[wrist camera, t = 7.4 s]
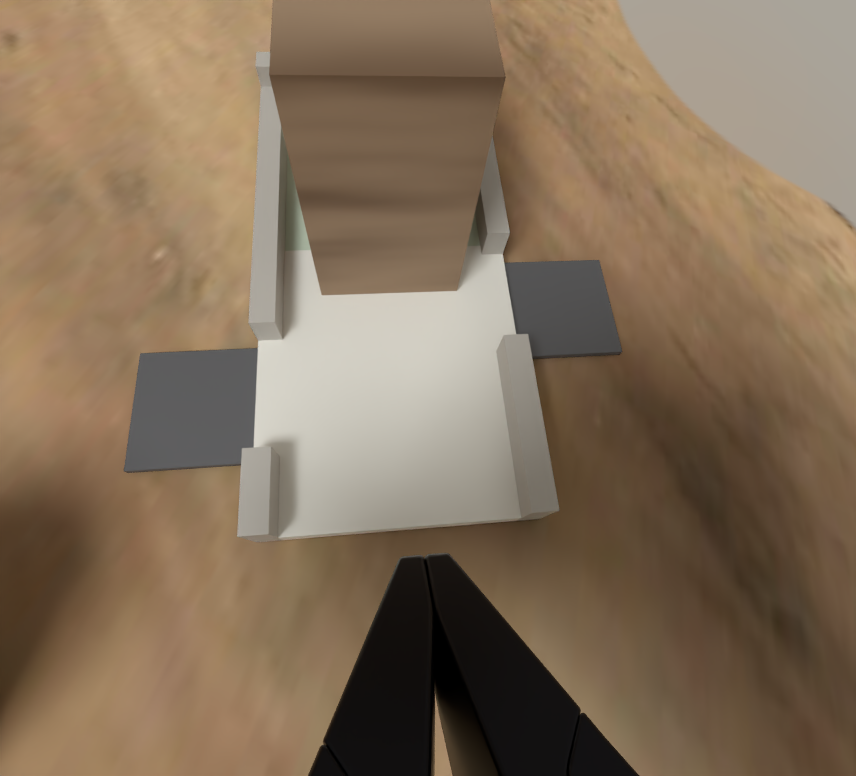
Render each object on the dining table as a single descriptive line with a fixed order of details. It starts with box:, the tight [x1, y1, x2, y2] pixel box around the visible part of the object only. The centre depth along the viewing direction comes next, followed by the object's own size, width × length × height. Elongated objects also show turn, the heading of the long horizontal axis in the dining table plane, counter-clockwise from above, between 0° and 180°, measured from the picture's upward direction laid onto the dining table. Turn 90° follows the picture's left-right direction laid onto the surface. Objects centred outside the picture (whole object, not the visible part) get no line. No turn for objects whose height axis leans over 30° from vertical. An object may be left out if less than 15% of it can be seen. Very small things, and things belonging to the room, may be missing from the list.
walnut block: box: [269, 0, 505, 295], centre depth 19 cm, size 9×6×10 cm, turn 5°
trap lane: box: [124, 52, 622, 542], centre depth 21 cm, size 22×21×4 cm
